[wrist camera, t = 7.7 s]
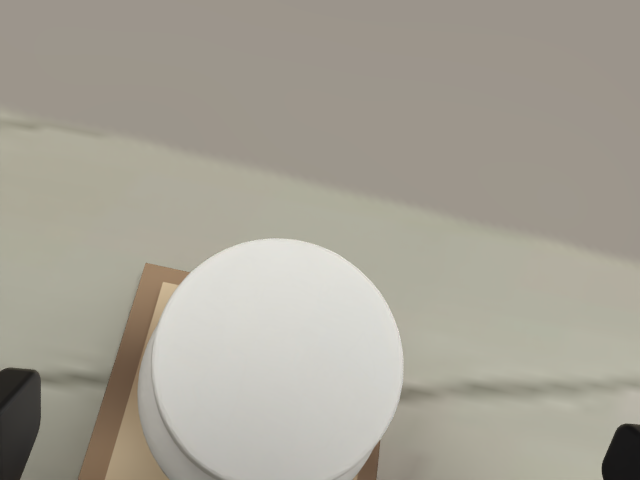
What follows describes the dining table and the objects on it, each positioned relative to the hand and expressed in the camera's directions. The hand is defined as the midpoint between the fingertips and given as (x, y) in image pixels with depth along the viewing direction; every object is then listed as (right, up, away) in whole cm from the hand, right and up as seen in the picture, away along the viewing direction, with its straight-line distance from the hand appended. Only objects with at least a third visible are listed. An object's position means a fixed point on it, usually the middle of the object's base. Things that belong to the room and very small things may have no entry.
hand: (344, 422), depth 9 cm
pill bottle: (-3, -3, +11) cm, 12 cm away
